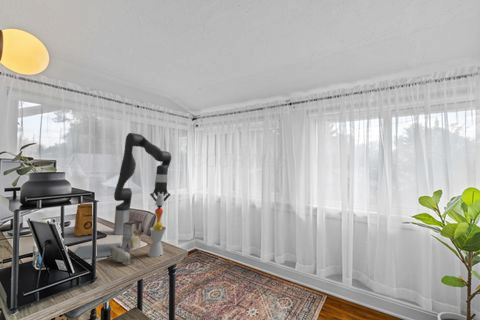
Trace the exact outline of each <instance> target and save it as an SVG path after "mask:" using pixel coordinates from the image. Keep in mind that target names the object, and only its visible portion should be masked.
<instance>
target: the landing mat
mask: <svg viewBox="0 0 480 320" xmlns="http://www.w3.org/2000/svg"><path fill="white" fill-rule="evenodd" d="M111 244H112V245H114V246H116V247H118V248H121V246H122V242H114V243H104V244H103V243H102V244H96V245H97V256H96V258H95V259H101V258H107V256H109V255H110V250H111V248H110V247H109V246H110V245H111ZM92 245H93V244H92ZM92 245H91V244H90V245H80V246H78V247H77V249H76V250H75V252H74V253H75V254H77V255H78V256H79V257H81V258H82V259H83V260H91V257H92ZM109 257H110V258H112V256H109Z"/></svg>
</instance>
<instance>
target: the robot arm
mask: <svg viewBox="0 0 480 320" xmlns="http://www.w3.org/2000/svg"><path fill="white" fill-rule="evenodd" d="M134 147H139V148H143V149H144V151H145V152H146V153H147V154H148V155H150V156H151V157H152V158H153V159H154V160H156V162H160V163H161V164H159V165H157V166H156V173H155V174H156V175H155V180H154V189H153V192H151V193H150V194H149V195H150V197H151V198H152V199H153V200H154V201H155V202H156V200H157V196H158V194H163V197H164V202H166V201H167V200H168V198H170V196H171V193H169V192H168V182H169V181H168V178H169V177H168V174H169V172H168V171H169V167H170V164H171V162H172V153H171V152H169V151H166V150H165V151H164V150H162V149H161V148H159V147H158V146H157V145H155V144H153V143H151V141H149V140H147V138H146V137H145V136H143V135H142V134H140V133H134V132H129V133H127V134H126V138H125V142H124V152H123V157H122V160H121V161H122V162H121V165H120V170H119V175H118V180H117V183H116V187H115V190H114V195H113V198H114V200H115V201H117V202H121V201H123V202H121V203H120V204H118V205H116V206H115V212H114V214H115V215H114V220H113V232H112V233H113V235H117V236H118V235H119V236H121V235H123V225H124V223H126V222H129V219H130V209H131V203H132V198H133V197H132V196H133V192H132V189H131V188H129V187H124V186H125V184H126V183H127V181H129V179H130V178H131V177H132V176H133V175H134V173H135V171H136V166H137V164H136V160H135V157H134V155H133V150H134V149H133V148H134ZM155 196H156V197H155ZM156 207H157V208H161V209H162V207H163V205H156Z"/></svg>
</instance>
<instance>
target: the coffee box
mask: <svg viewBox="0 0 480 320" xmlns="http://www.w3.org/2000/svg"><path fill="white" fill-rule="evenodd" d="M142 224H143V221H142V220H136V219H133V220H130V221H128V222H126V223H124V225H123V234H122V238H121V241H122V242H121V249H123V250H124V251H125V252H132V251H133V250H135V249H138V248H140V247H141V239H142V238H141V237H142Z"/></svg>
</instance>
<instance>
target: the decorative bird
mask: <svg viewBox="0 0 480 320" xmlns="http://www.w3.org/2000/svg"><path fill="white" fill-rule="evenodd" d="M110 244H111V245H110V246H109V247H110V248H111V250H110V255H109V256H111V257H109V256H107V257H106V260H109V258H110V259H111V258H112V259H113V260H114V262H116V263H124V264H125V265H126V266H130V263H131V255H130V253H129V252H128V251H125V250H123V249H122V247H120V248H118V247H116V246H114V245H112V243H110Z"/></svg>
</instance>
